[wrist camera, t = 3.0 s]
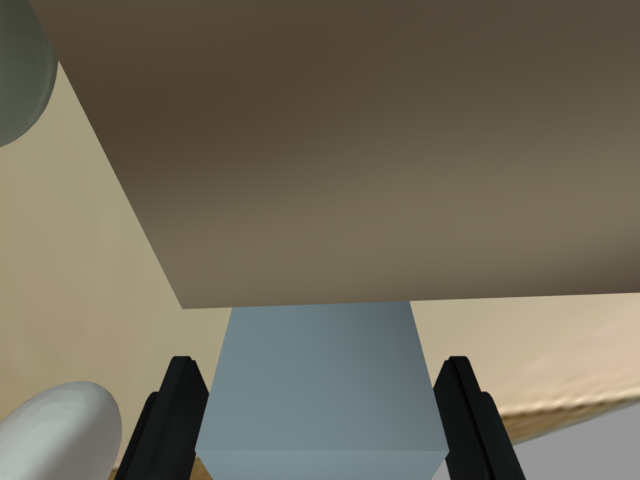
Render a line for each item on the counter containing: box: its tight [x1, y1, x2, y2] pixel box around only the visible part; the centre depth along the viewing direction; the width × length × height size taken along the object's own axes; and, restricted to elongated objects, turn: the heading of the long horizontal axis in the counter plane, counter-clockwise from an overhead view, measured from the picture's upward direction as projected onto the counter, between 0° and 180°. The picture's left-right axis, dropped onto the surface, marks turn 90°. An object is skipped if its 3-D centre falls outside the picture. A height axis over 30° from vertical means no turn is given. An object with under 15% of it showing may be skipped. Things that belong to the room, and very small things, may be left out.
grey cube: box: [195, 301, 449, 480], centre depth 12 cm, size 6×6×6 cm
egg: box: [0, 381, 122, 480], centre depth 15 cm, size 5×5×7 cm
